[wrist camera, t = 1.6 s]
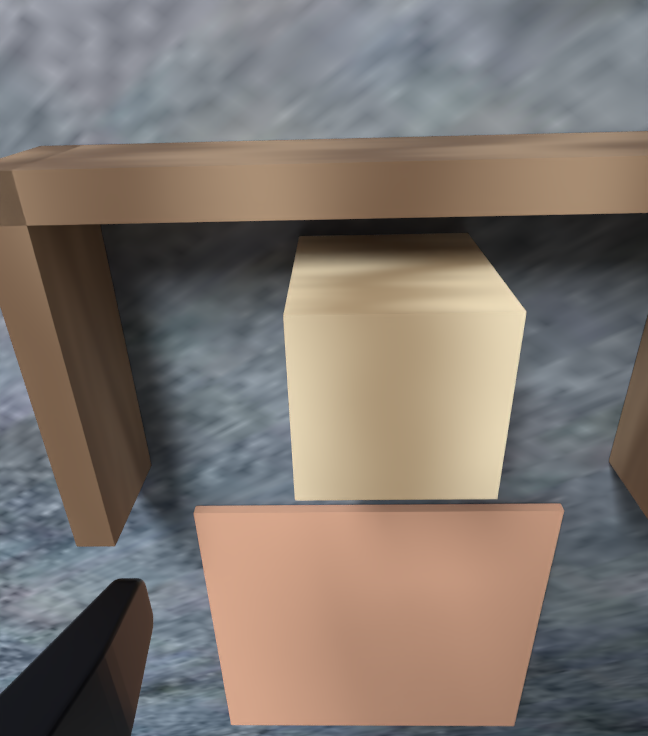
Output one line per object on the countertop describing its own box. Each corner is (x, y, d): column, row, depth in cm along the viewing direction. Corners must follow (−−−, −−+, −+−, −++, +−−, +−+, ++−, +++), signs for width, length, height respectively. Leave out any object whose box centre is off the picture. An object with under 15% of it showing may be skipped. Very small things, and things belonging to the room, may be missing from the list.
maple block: (466, 232, 17) (526, 311, 12) (453, 378, 19) (497, 498, 14) (299, 235, 17) (283, 315, 12) (306, 380, 20) (295, 500, 14)
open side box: (742, 129, 15) (862, 150, 12) (642, 461, 21) (704, 543, 17) (40, 146, 16) (-43, 172, 12) (119, 465, 21) (77, 546, 18)
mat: (560, 503, 22) (563, 510, 21) (511, 717, 29) (513, 726, 28) (195, 506, 22) (193, 513, 22) (232, 716, 29) (231, 724, 29)
